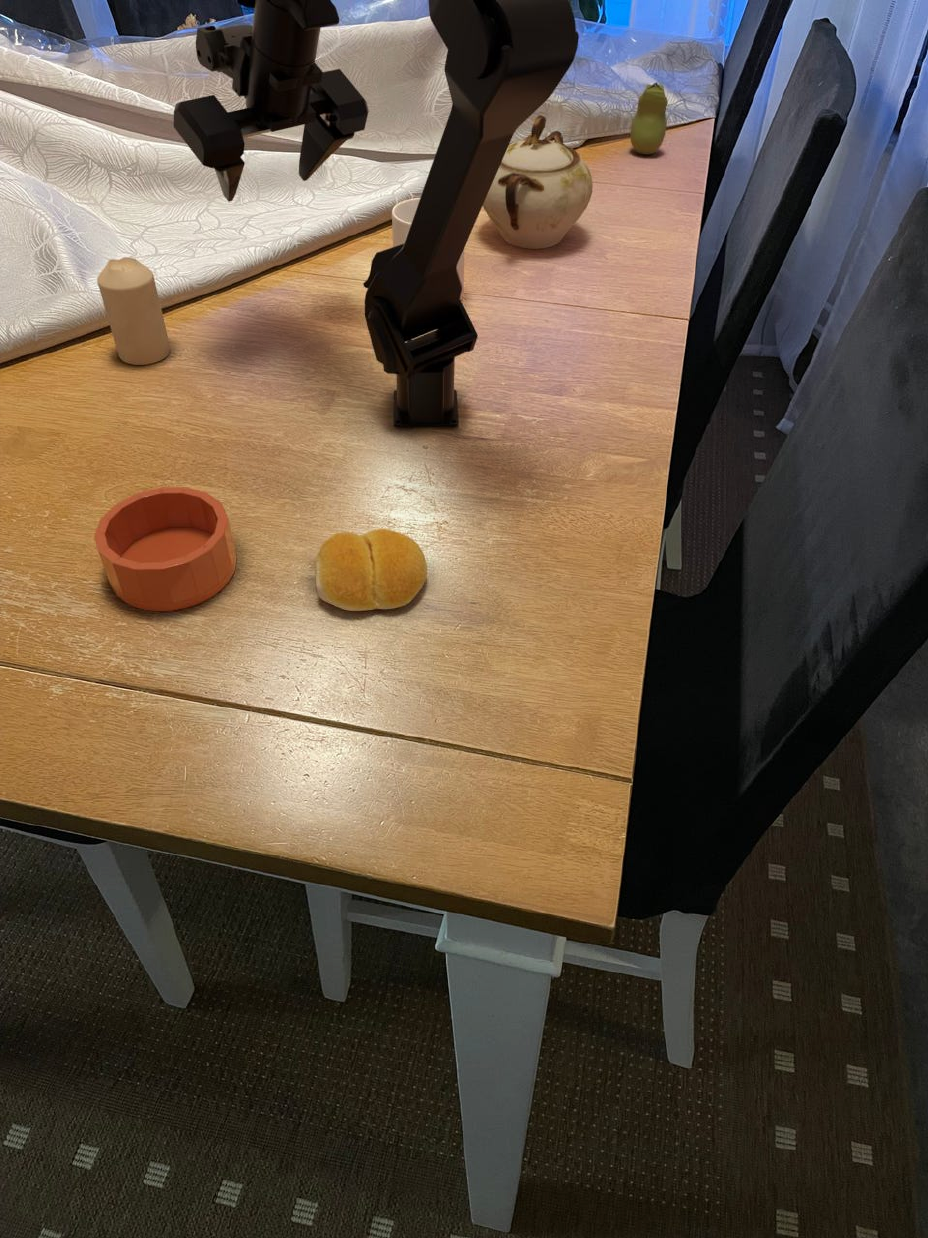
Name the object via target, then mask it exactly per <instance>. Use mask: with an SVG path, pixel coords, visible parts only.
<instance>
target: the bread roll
mask: <svg viewBox="0 0 928 1238" xmlns="http://www.w3.org/2000/svg"><path fill="white" fill-rule="evenodd" d="M315 558H316V563H315V585H316V586H315V587H316V592H317V593H316V594H317V596H318V597H319V598H320V600H322V601H324V602H325V603H328V604H329V605H332V606H334V607H337V608H338V609H341V610H345V611H349V612H363V611H364V612H365V611H373V610H377V609H378V610H391V609H398V608H401V607H404V606H406V605H408V604H409V603H410V602H411V601H412V600H413V599H414V598H415V597H416V595H417V594H419V591H420V590H422V588H423V586H424V584H425V582H426V581H427V580H426V579H427V576H428V564H427V560H426V556H425V553H424V551H423V550H422V548H421V547H420V545H419V544H418V543H417V542H416V541H415V540H414V539H413V538H411V537H410V536H408V535H406V534H404V533H401V532H398V531H395V530H391V529H387V528H379V529H372V530H370V531H367V532H366V533H363V534H357V533H354V532H347V531H346V532H345V531H343V532H337V533H335V534H333V535H332V536H330V537H329V538H327V539H326V540H324V541H323V543H322V544H321V546H320V548H319V550H318V552H317V554H316V557H315Z"/></svg>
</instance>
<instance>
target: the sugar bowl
mask: <svg viewBox="0 0 928 1238" xmlns="http://www.w3.org/2000/svg"><path fill="white" fill-rule="evenodd" d="M546 124H547V118H546V116H545V115H543V114H542V115H541V114H540V115H538V116H537V117H535V120H534V122H533V124H532V127H531V131H530V132H531V133H530V134H529V135H528V136H526V137H525V138H523V139H520V140H515V141H513V142H510V143H509V146H508V148H507V150H506V153H505V155H504V157H503V160H502V162H501V164H500V166H499V169H498V171H497V173H496V176H495V178H494V180H493V183H492V185H491V187H490V190H489V192H488V194H487V197H486V199H485V201H484V204H483V206H482V208H483V209H484V211H485V213H486V214H487V216H488V217H489V219H490V221H491V222H492V223H493V226H495V228H496V230H498V232H499V233H500V235H501V237H502V239H503V240H504V241H505V242H507V243H509V244H510V245H512V246H515V247H518V248H523V249H532V250H533V249H534V250H541V249H547V248H551V247H553V246H556V245H558V244H559V243H560V242H561V241H562V240H563V239H564V237H565V236H566V235H567V233H568V232H569V231H570V230H571V229H572V227H573V226H574V225H575V224H576V223H577V222H578V221H579V219H580V218H581V216H582V215H583V213H584V212H585V210H586V209H587V207H588V205H589V203H590V201H591V199H592V195H593V188H594V187H593V186H594V185H593V178H592V177H593V176H592V173H591V171H590V169H589V167H588V164H586V162H585V161H584V160H583V159H582V158H581V157H580V154H579V153H578V152H577V150H575V149H574V148H572V147H571V146H568V145H565V144H564V137H563V134H562V132H561V131H559V130H554V131H552V132H551V133H550V134H549V135H548V136H546V137H545V138H541V136H542V134H543V131H544V130H545V128H546Z"/></svg>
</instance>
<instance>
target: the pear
mask: <svg viewBox="0 0 928 1238" xmlns="http://www.w3.org/2000/svg"><path fill="white" fill-rule="evenodd" d="M665 92H666V91H665V86H664V85H663V84H659V83H658V82H654V83H653V84H648V83H646V86H645V89H644V90H643V93H641V95H640V96H639V98H638V100H637V107H636V111H635V114H634V116H633V118H632V121H631V122H632V123H631V126H630V144H631V147H632V148H633V150H634V151H636V152H637V153H639V154H640V155H651V154H654V153H656V152H657V151H659V149H660V148H661V146H662V145H663V143H664V140H665V137H666V133H667V125H668V124H667V123H668V122H667V115H666V113H667V112H666V111H667V106H668V101H669V100H668V98H667V96H666V93H665Z"/></svg>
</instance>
